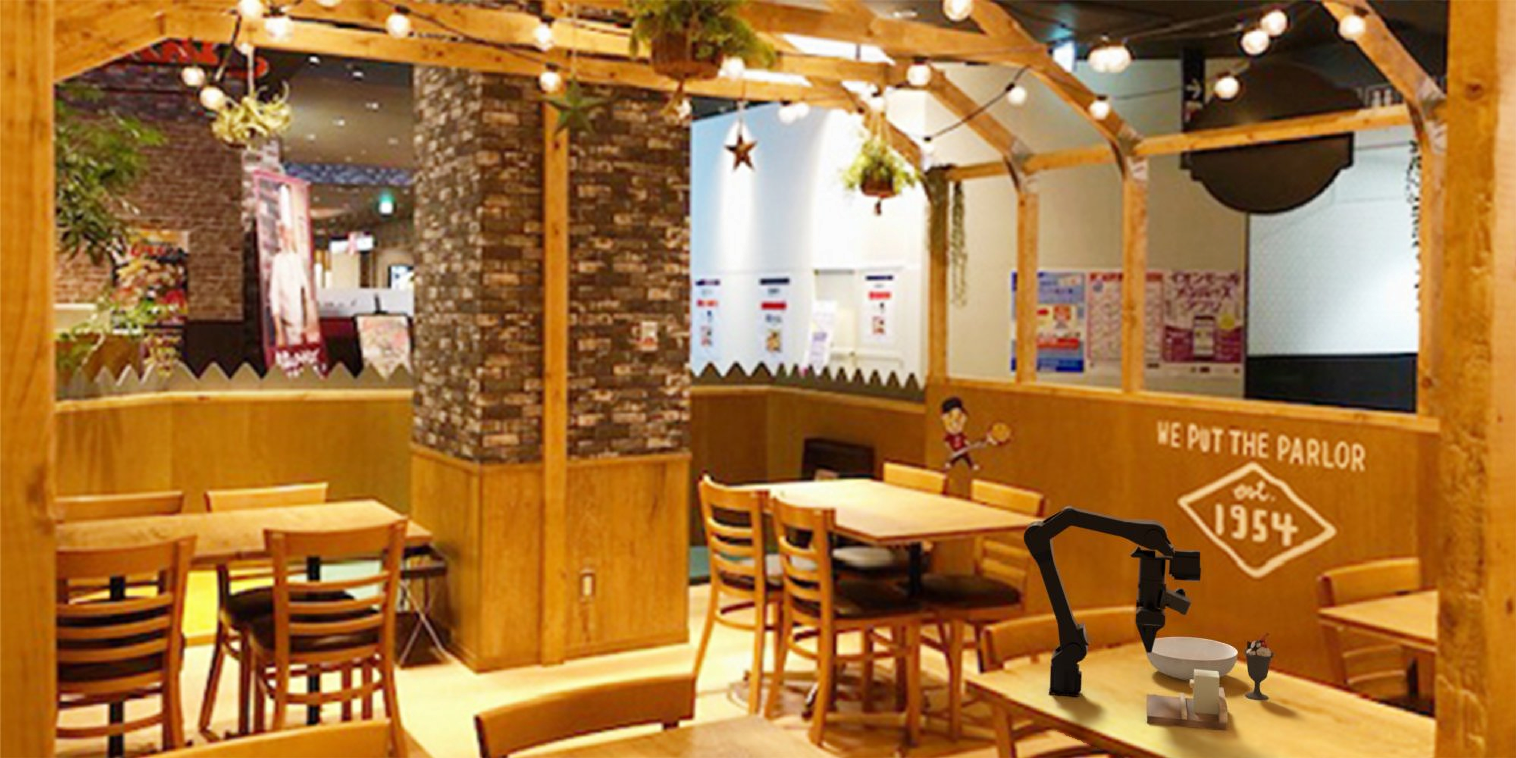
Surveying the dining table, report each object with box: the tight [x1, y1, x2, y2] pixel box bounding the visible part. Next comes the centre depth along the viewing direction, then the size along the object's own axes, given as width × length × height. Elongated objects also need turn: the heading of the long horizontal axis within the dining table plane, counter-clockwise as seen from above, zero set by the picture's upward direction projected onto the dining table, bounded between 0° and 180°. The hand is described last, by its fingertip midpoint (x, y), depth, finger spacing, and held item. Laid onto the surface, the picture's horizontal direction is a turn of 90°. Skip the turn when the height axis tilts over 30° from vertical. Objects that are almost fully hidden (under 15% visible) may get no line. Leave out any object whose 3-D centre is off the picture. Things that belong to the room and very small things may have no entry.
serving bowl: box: [1145, 636, 1239, 682], centre depth 325 cm, size 21×21×7 cm
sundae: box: [1242, 632, 1275, 701], centre depth 308 cm, size 7×7×15 cm
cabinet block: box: [1189, 669, 1220, 715], centre depth 294 cm, size 6×5×8 cm
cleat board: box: [1146, 686, 1229, 731], centre depth 295 cm, size 16×16×4 cm
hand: (1148, 647), depth 305 cm, fingers open, 9 cm apart
